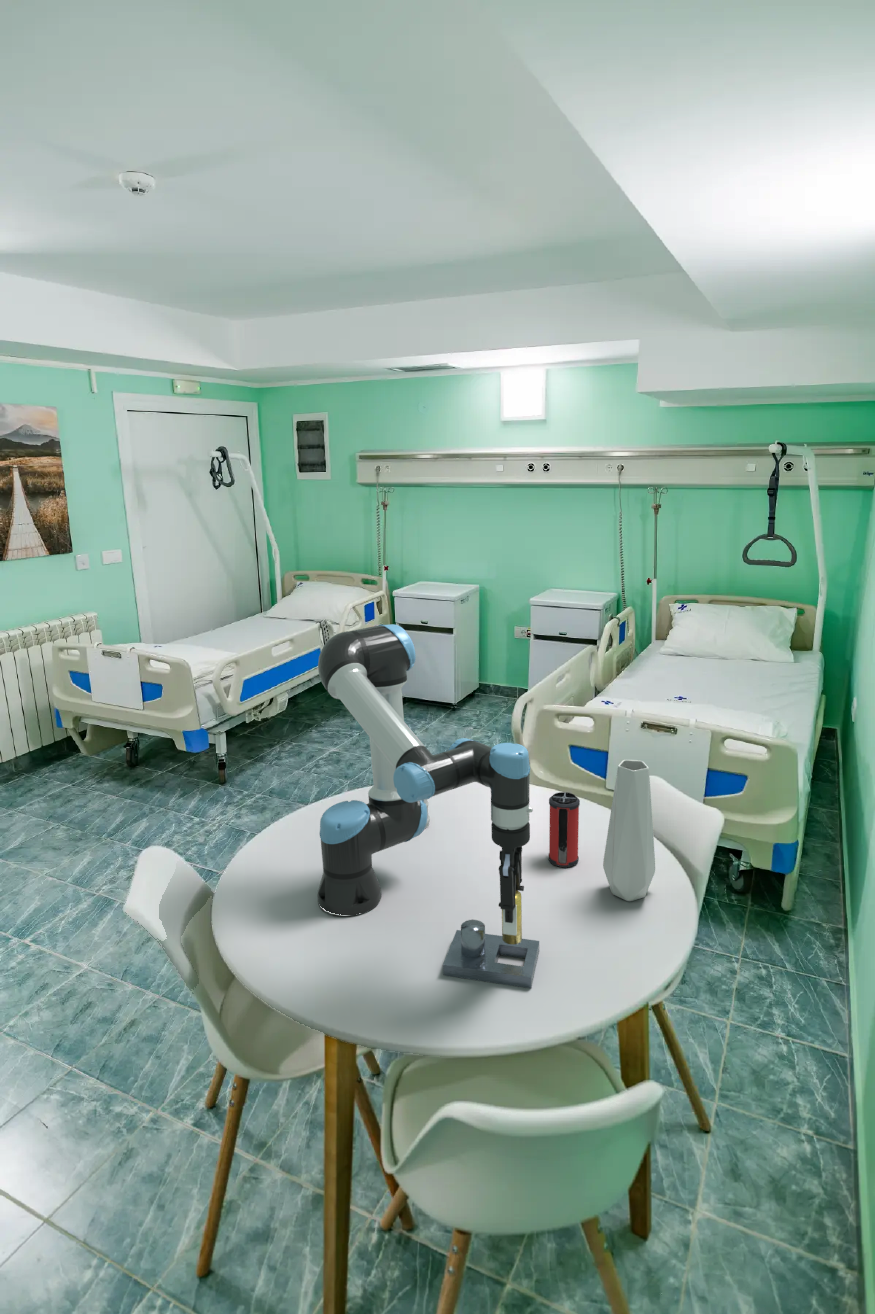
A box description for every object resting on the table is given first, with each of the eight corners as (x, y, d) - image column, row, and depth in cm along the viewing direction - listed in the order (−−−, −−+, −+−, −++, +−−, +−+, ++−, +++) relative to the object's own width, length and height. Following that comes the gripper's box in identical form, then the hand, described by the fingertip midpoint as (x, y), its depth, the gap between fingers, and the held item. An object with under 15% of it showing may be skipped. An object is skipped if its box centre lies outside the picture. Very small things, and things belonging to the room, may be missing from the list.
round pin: (500, 943, 153) (499, 899, 150) (504, 931, 157) (503, 888, 154) (520, 945, 152) (519, 901, 149) (523, 933, 156) (522, 890, 153)
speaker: (547, 866, 193) (547, 802, 189) (550, 852, 201) (550, 789, 196) (577, 869, 192) (578, 804, 187) (579, 854, 199) (580, 791, 194)
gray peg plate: (443, 975, 154) (442, 941, 152) (457, 939, 165) (456, 907, 163) (531, 988, 149) (531, 953, 147) (539, 951, 160) (539, 918, 158)
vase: (610, 874, 189) (614, 751, 181) (657, 886, 183) (663, 759, 175) (594, 898, 179) (597, 769, 171) (642, 911, 173) (648, 778, 165)
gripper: (522, 844, 139) (524, 955, 145) (535, 804, 155) (536, 906, 161) (483, 840, 141) (485, 950, 147) (499, 801, 157) (501, 902, 162)
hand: (511, 926), depth 154 cm, fingers closed on round pin, 4 cm apart
